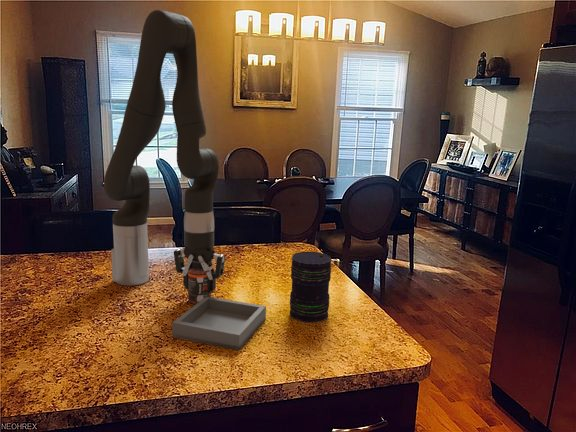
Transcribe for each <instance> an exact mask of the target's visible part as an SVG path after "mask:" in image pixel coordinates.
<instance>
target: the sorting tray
mask: <svg viewBox="0 0 576 432" xmlns="http://www.w3.org/2000/svg"><path fill="white" fill-rule="evenodd" d="M266 317H267V306H266V305H261V304H254V303H249V302H242V301H237V300H230V299H226V298H218V297H213V296H211V297H207V296H206V297H205V298H203V299H202V300H201V301H200V302H198V303H197V304H193V306H192V307H190V308H189V309H188V310H186V311H185V312H184V313H183V314H182V315H180V316H179V317H177V318H176V319H175V320H174V321H172V323H171V324H172V325H171V329H172V338H174V339H180V340H185V341H190V342H196V343H200V344H205V345H211V346H216V347H220V348H226V349H231V350H235V351H240V350H241V349H242V348H243V346H244V345H245V344H246V343H247V342H248V341H249V339H250V338H252V336H253V335H254V334H255V333H256V331H257V330H258V329H259V328H260V327H261V326H262V324H263V323H264V322H265V321H266V319H267V318H266Z"/></svg>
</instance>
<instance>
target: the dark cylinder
mask: <svg viewBox="0 0 576 432" xmlns="http://www.w3.org/2000/svg"><path fill="white" fill-rule="evenodd" d="M290 272H291V273H290V278H291V292H290V294H289V309H290V310H289V316H290V315H291V316H290V317H291V318H292V319H293V318H294V319H293V320H295V321H298V322H302V323H306V324H307V323H309V324H310V323H311V324H315V323H320V322H323V321H325V320H327V319H328V317H329V308H330V293H329V289H330V281H331V278H332V276H331V274H332V257H331V256H330V255H328V254H326V253H322V252H317V251H301V252H295V253H293V254H292V256H291V267H290Z"/></svg>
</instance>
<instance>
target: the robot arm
mask: <svg viewBox="0 0 576 432" xmlns="http://www.w3.org/2000/svg"><path fill="white" fill-rule="evenodd" d="M139 44H140V45H139V50H138V57H137V62H136V68H135V73H134V76H133V81H132V86H131V90H130V92H129V97H128V100H127V103H126V107H125V111H124V114H123V120H122V124H121V128H120V130H119V135H118V138H117V142H116V145H115V147H114V150H113V153H112V156H111V158H110V160H109V163H108V165H107V168H106V171H105V174H104V179H103V189H104V192H105V195H106V196H107V198H108V199H109V200H111V201H114V202H119V201H120V202H121V201H122V202H123V201H125V203H124V204H123V205H122V206H121V207H120V208H119V209H117V210H116V211H114V213H113V214H112V234H113V236H112V237H113V248H112V249H111V250H110V254H111V255H110V257H111V276H112V278H111V279H112V282H115V283H116V284H118V285H120V286H128V287H129V286H131V287H132V286H138V285H143V284H145V283H147V282H148V281H149V279H150V269H149V240H148V239H149V236H148V215H149V213H150V195H151V193H150V189H151V187H150V186H151V185H150V179H149V175H148V173H147V170H146V169H145V168H144V167H143V166H141V165H135V162H136V160H137V158H138V157H139V156H140V154H141V153H142V152H143V151H144V150H145V148H146V147H148V146H149V144H150V143H151V142H152V140H153V139H154V138H155V137H156V135H158V132H159V131H160V128H161V125H162V122H163V119H164V115H165V111H166V106H167V105H166V97H165V93H164V89H163V85H162V78H161V77H162V75H161V74H162V69H163V65H164V60H165V57H166V55H167V54H171V55H172V56H173V58H174V62H175V66H176V73H177V74H176V82H175V87H174V91H173V95H172V101H171V103H172V104H171V108H172V109H171V110H172V115H173V120H174V125H175V128H176V132H177V133H176V134H177V140H176V141H177V142H176V165H177V167H178V170H179V173H181V175H182V176H183V177H184V178H187V179H191V180H193V183H192V185H191V186H189V187H188V188H186V190H185V191H184V217H183V245H184V249H182V248H181V247H179V248H177V249H176V250H174V251H173V257H174V264H175V270H176V272H177V274H178V273H180V274H182V278H183V279H182V280H183V282H182V284H183V287H185V288H184V289H185V290H188V270H189V269H190V268H191V267H192V261H198V262H200V263H201V265H202V267H203V269H204V272H206V274H207V276H208V278H209V279H208V293H211V294H212V293H213V292H214V291H215V290H216V287H217V282H216V281H217V279H219V278H221V277H223V275H224V271H225V270H224V269H225V265H226V263H225V262H226V254H225V253H222V254H220V253H216V251H215V249H214V247H215V216H214V191H215V189H216V185H217V180H218V175H219V170H220V168H219V167H220V165H219V164H220V163H219V162H220V161H219V159H218V156H217V153H215V151H213V150H212V149H211V148H206V147H205V148H200V139H202V138H204V137H205V136H206V134H207V127H206V122H205V117H204V112H203V107H202V104H201V99H200V89H199V73H198V71H199V70H198V56H197V54H198V53H197V39H196V32H195V27H194V25H193V22H192V21H191V20H190V18H189V17H187V16H185V15H182V14H180V13H175V12H171V11H167V10H162V9H155V10H152V11H150V13H148V15H147V17H146V18H145V20H144V24H143V27H142V32H141V38H140V43H139ZM184 257H185V258H186V263H185V258H184ZM213 259H214V262H215V263H216V265H214V263H213Z"/></svg>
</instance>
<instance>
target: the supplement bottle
mask: <svg viewBox="0 0 576 432" xmlns="http://www.w3.org/2000/svg"><path fill="white" fill-rule="evenodd" d="M208 279H209V278H208V276H207V274H206V272H204V269H203V267H202V265H201V263H200V262H198V261H192V267H191V268H190V269H189V270H188V289H187V298H188V302H189V303H190V304H193V305H196V304H197V303H198V302H200V301H201V300H202V299H203V298H205V297H206V296H207V297H212V293H208Z"/></svg>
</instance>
